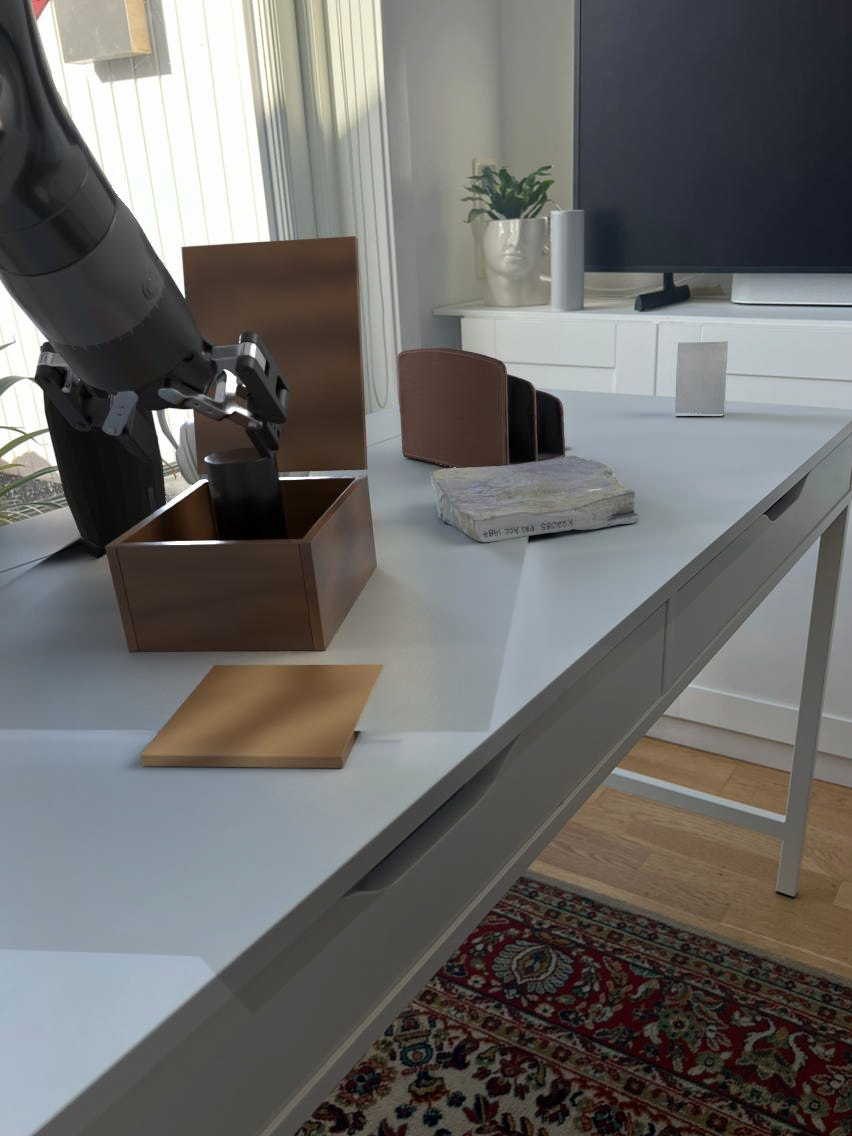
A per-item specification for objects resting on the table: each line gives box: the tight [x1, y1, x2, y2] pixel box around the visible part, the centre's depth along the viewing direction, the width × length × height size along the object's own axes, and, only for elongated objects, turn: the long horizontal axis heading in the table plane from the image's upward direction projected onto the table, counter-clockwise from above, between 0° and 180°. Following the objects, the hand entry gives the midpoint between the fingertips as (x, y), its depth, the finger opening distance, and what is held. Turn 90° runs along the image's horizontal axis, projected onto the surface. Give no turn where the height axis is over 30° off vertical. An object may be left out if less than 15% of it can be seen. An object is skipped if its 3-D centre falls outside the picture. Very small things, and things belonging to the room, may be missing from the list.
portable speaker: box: [39, 345, 167, 558], centre depth 91 cm, size 9×9×20 cm
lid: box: [180, 235, 368, 475], centre depth 79 cm, size 18×15×1 cm
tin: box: [205, 447, 288, 541], centre depth 74 cm, size 5×5×12 cm
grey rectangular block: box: [674, 340, 729, 415], centre depth 135 cm, size 4×7×10 cm, turn 75°
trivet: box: [139, 663, 385, 769], centre depth 60 cm, size 12×12×1 cm
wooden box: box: [105, 474, 378, 653], centre depth 75 cm, size 18×15×9 cm
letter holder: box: [396, 347, 566, 468], centre depth 116 cm, size 10×20×14 cm, turn 42°
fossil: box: [429, 455, 640, 543], centre depth 97 cm, size 20×5×17 cm
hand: (210, 448), depth 66 cm, fingers open, 8 cm apart
